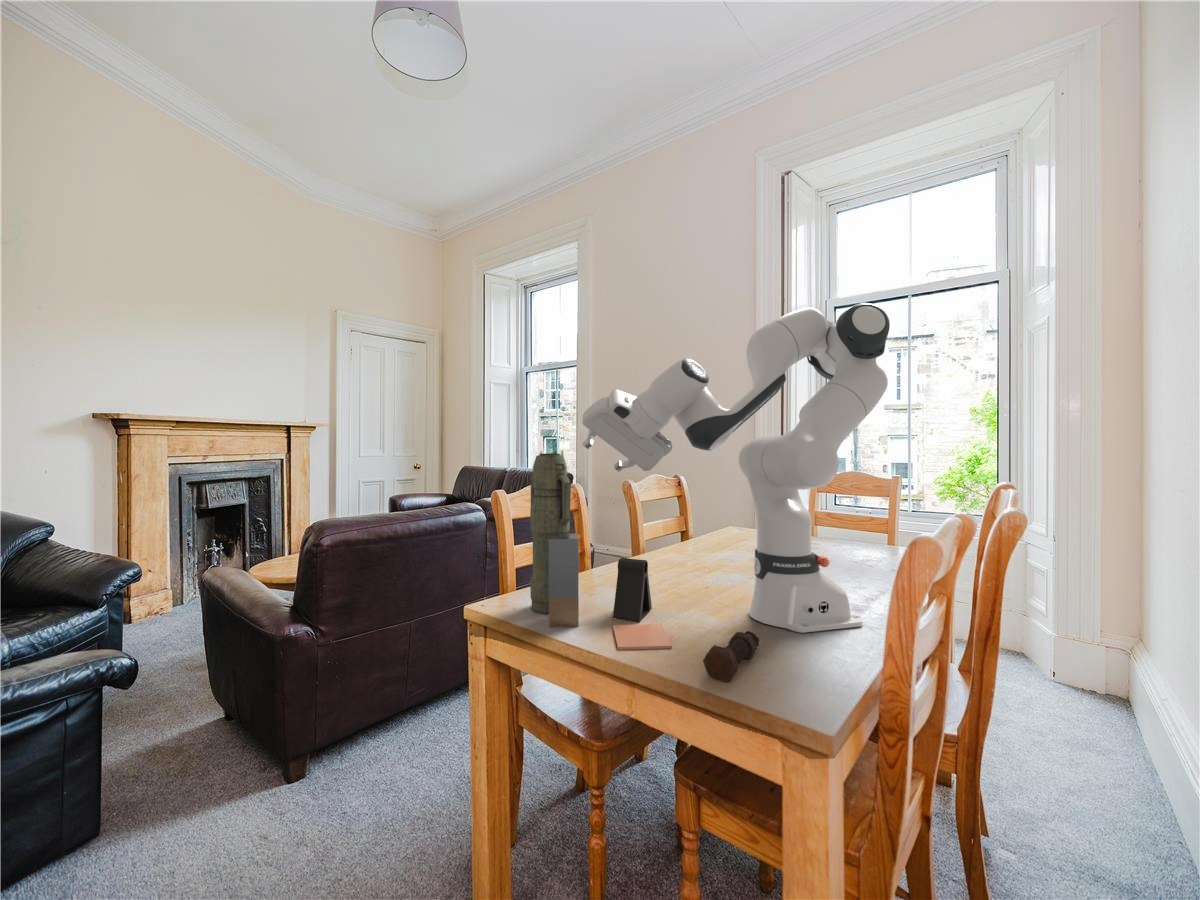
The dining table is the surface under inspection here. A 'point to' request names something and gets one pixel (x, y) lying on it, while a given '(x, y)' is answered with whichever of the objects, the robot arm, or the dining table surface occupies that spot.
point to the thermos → (547, 520)
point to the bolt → (730, 656)
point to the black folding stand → (632, 590)
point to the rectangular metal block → (563, 580)
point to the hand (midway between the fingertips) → (601, 457)
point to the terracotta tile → (641, 637)
